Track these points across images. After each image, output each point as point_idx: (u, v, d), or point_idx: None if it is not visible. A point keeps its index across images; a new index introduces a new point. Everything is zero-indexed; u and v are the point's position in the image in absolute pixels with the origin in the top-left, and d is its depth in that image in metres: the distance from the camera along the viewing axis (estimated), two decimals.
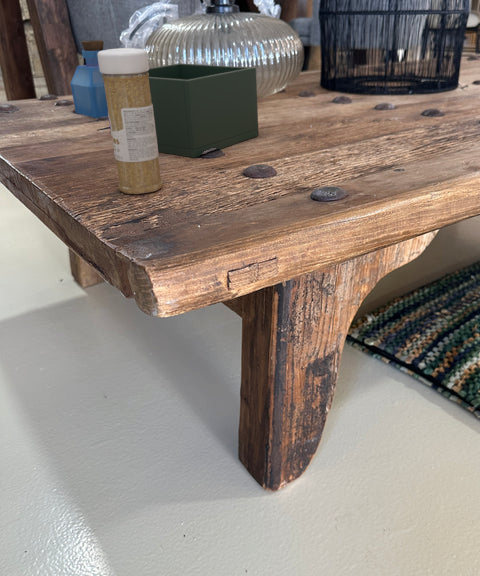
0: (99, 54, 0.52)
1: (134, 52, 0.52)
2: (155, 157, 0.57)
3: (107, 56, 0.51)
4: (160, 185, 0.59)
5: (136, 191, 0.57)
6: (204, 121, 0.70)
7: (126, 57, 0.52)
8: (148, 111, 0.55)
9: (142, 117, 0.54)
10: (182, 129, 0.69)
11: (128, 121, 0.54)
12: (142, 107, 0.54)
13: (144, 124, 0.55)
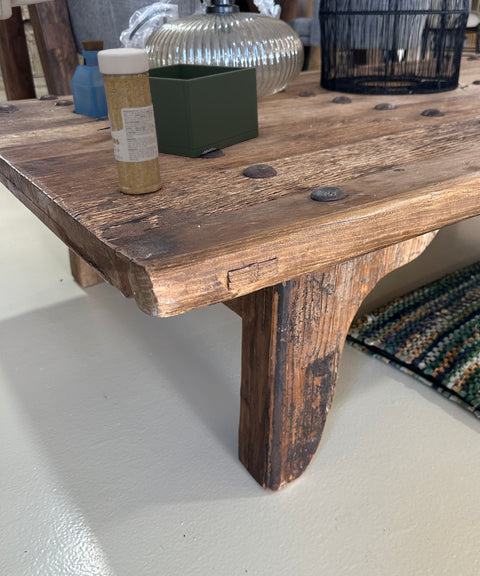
0: (99, 54, 0.52)
1: (134, 52, 0.52)
2: (155, 157, 0.57)
3: (107, 56, 0.51)
4: (160, 185, 0.59)
5: (136, 191, 0.57)
6: (204, 121, 0.70)
7: (126, 57, 0.52)
8: (148, 111, 0.55)
9: (142, 117, 0.54)
10: (182, 129, 0.69)
11: (128, 121, 0.54)
12: (142, 107, 0.54)
13: (144, 124, 0.55)
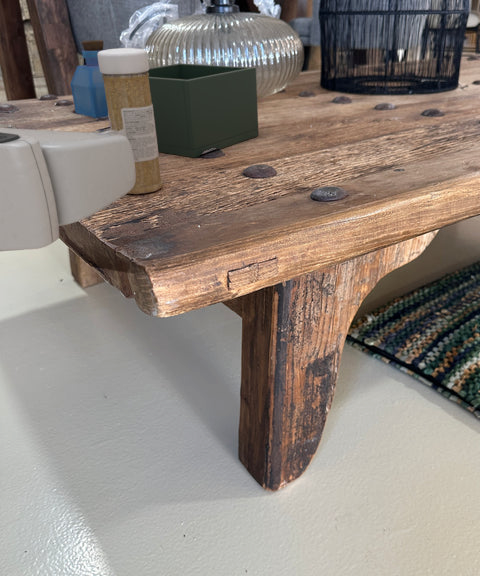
0: (99, 54, 0.52)
1: (134, 52, 0.52)
2: (155, 157, 0.57)
3: (107, 56, 0.51)
4: (160, 185, 0.59)
5: (136, 191, 0.57)
6: (204, 121, 0.70)
7: (126, 57, 0.52)
8: (148, 111, 0.55)
9: (142, 117, 0.54)
10: (182, 129, 0.69)
11: (128, 121, 0.54)
12: (142, 107, 0.54)
13: (144, 124, 0.55)
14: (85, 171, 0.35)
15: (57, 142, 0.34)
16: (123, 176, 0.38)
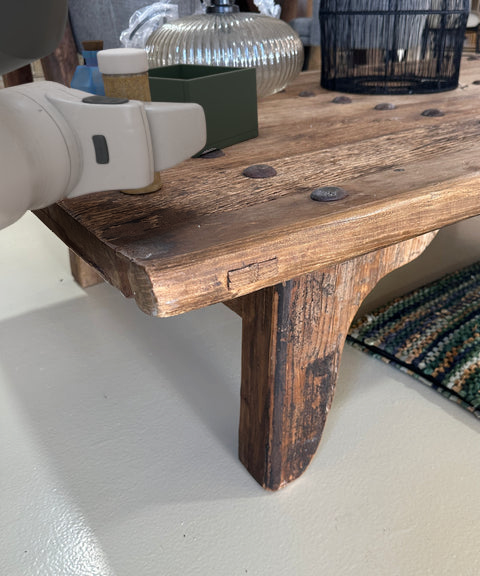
0: (98, 54, 0.52)
1: (133, 52, 0.52)
2: None
3: (107, 56, 0.51)
4: (160, 185, 0.59)
5: (136, 191, 0.57)
6: None
7: (126, 57, 0.52)
8: None
9: None
10: None
11: None
12: None
13: None
14: (174, 130, 0.45)
15: (154, 106, 0.44)
16: (198, 136, 0.48)
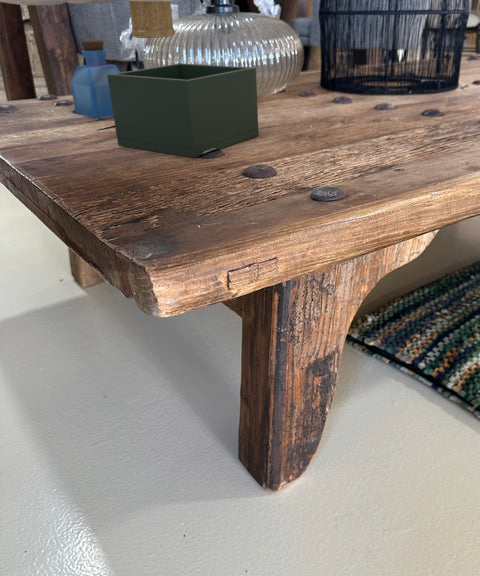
0: None
1: None
2: (169, 0, 0.58)
3: None
4: (173, 31, 0.60)
5: (153, 34, 0.58)
6: (204, 121, 0.70)
7: None
8: None
9: None
10: (182, 129, 0.69)
11: None
12: None
13: None
14: None
15: None
16: None
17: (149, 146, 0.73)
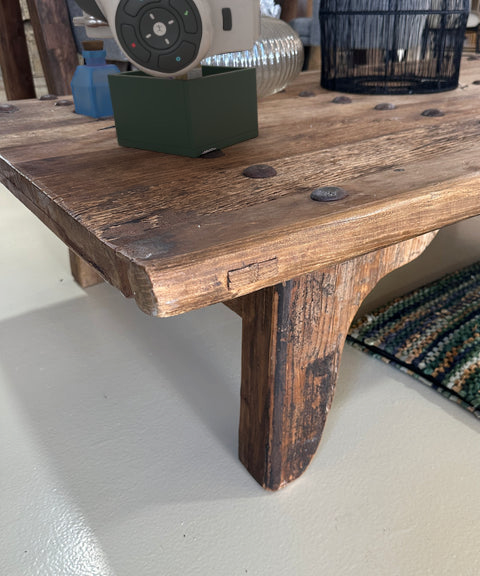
0: None
1: None
2: None
3: None
4: None
5: None
6: (204, 121, 0.70)
7: None
8: (201, 71, 0.74)
9: (199, 75, 0.73)
10: (182, 129, 0.69)
11: (192, 78, 0.73)
12: (199, 68, 0.73)
13: None
14: (258, 10, 0.64)
15: None
16: None
17: (149, 146, 0.73)
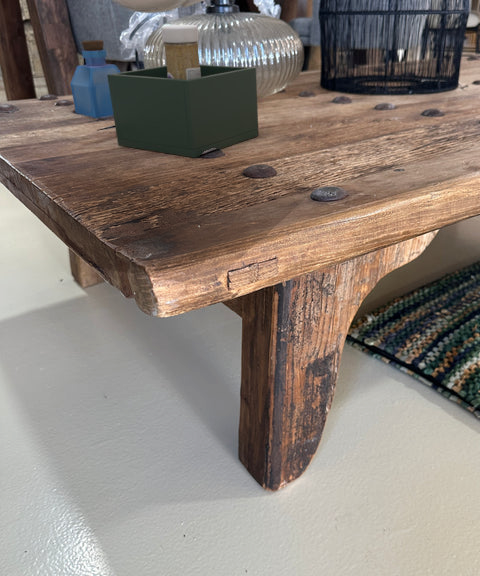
0: (168, 28, 0.70)
1: (194, 26, 0.71)
2: None
3: (178, 29, 0.70)
4: None
5: None
6: (204, 121, 0.70)
7: (191, 30, 0.70)
8: (200, 71, 0.74)
9: (198, 75, 0.74)
10: (182, 129, 0.69)
11: (191, 78, 0.73)
12: (198, 67, 0.73)
13: None
14: None
15: None
16: None
17: (149, 146, 0.73)
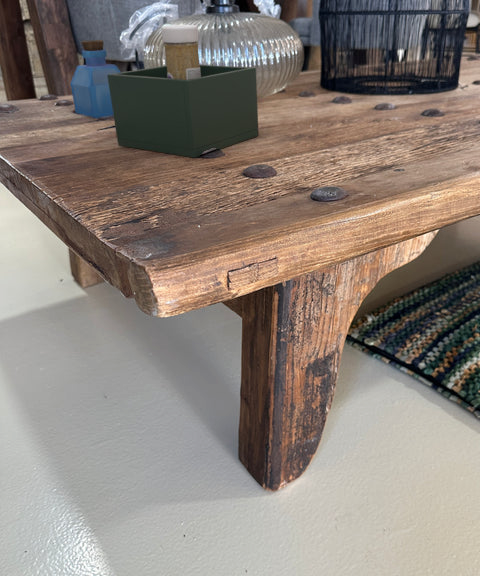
0: (168, 28, 0.70)
1: (194, 26, 0.71)
2: None
3: (178, 29, 0.70)
4: None
5: None
6: (204, 121, 0.70)
7: (191, 30, 0.70)
8: (200, 71, 0.74)
9: (198, 75, 0.74)
10: (182, 129, 0.69)
11: (191, 78, 0.73)
12: (198, 67, 0.73)
13: None
14: None
15: None
16: None
17: (149, 146, 0.73)
